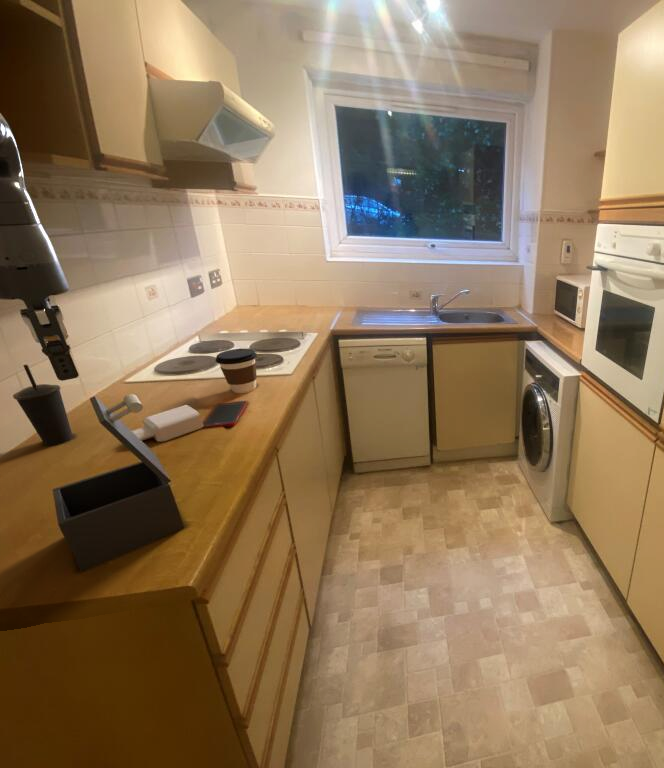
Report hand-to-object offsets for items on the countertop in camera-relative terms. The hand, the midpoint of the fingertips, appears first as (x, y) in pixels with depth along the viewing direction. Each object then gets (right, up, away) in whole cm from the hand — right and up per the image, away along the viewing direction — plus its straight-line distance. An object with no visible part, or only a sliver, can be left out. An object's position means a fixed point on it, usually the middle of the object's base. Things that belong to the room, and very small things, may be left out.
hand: (66, 371), depth 65 cm
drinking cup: (-43, -16, +40) cm, 61 cm away
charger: (-20, -15, +43) cm, 50 cm away
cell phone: (-12, -11, +54) cm, 56 cm away
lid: (+2, -12, +8) cm, 14 cm away
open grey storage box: (-1, -28, +11) cm, 31 cm away
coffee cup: (-17, -4, +71) cm, 73 cm away
